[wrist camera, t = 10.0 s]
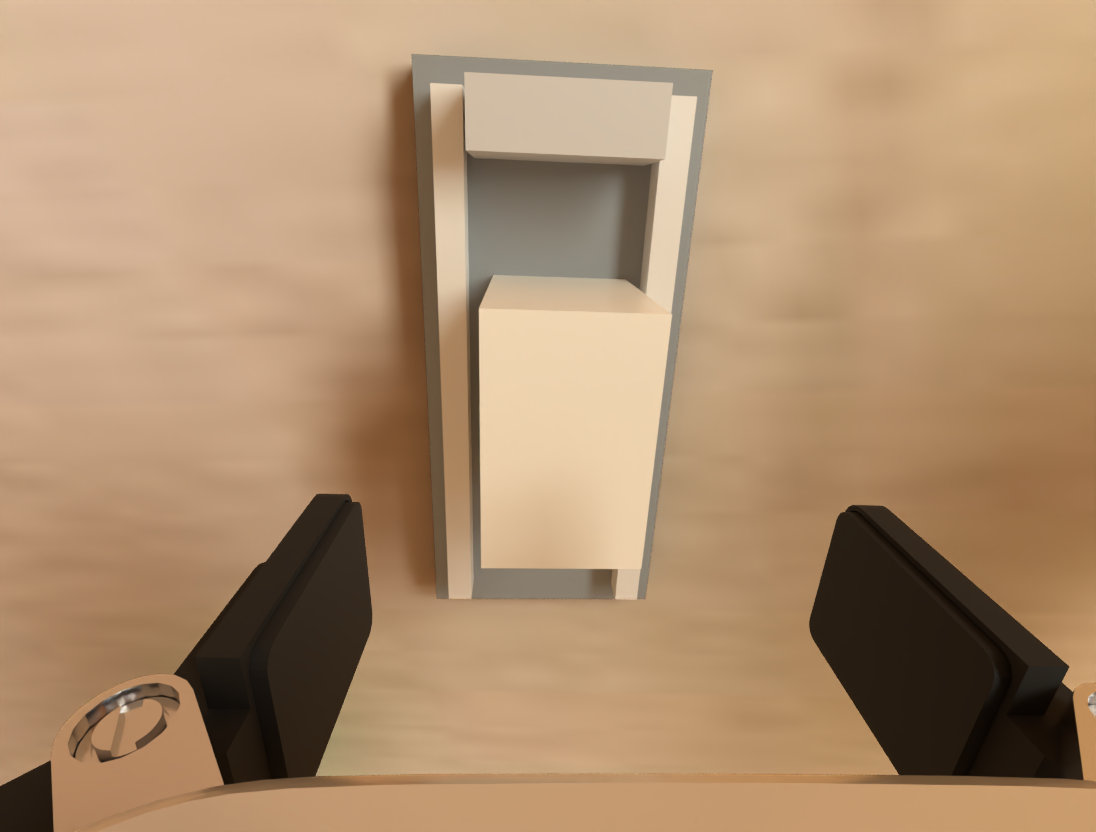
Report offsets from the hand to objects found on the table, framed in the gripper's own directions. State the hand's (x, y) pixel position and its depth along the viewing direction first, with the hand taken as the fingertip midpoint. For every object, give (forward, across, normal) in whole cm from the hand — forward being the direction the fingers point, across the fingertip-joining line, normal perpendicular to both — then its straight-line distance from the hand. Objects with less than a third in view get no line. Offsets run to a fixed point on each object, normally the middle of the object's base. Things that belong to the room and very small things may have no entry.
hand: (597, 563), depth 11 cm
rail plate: (+13, +1, 0) cm, 13 cm away
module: (+12, 0, 0) cm, 12 cm away
